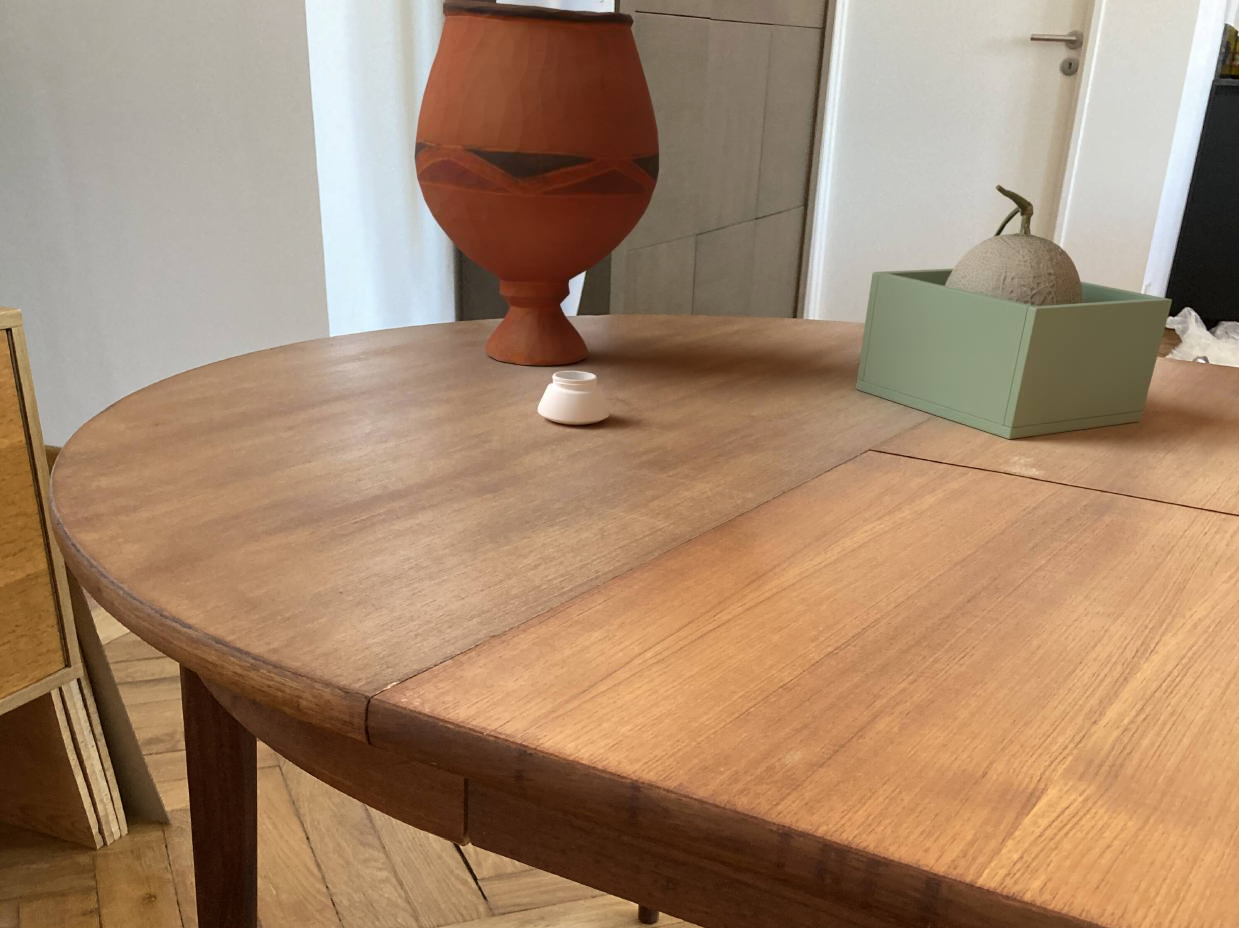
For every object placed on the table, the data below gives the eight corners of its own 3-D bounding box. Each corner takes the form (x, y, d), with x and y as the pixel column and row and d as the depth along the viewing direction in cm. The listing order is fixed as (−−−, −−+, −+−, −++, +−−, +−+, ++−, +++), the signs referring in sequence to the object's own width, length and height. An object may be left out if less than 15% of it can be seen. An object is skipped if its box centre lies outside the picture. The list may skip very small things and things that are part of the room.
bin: (1140, 421, 97) (1172, 299, 92) (1009, 439, 90) (1036, 308, 85) (982, 376, 108) (1003, 266, 104) (855, 389, 101) (872, 271, 97)
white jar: (577, 407, 91) (523, 415, 88) (578, 365, 90) (524, 372, 87) (623, 421, 88) (569, 431, 85) (625, 378, 87) (570, 386, 84)
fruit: (1029, 380, 104) (1072, 177, 96) (1083, 413, 94) (1136, 192, 86) (906, 375, 103) (940, 171, 95) (948, 409, 93) (989, 185, 85)
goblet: (395, 370, 99) (379, -8, 86) (450, 327, 115) (444, 4, 102) (635, 388, 98) (656, 6, 84) (656, 342, 114) (676, 16, 101)
